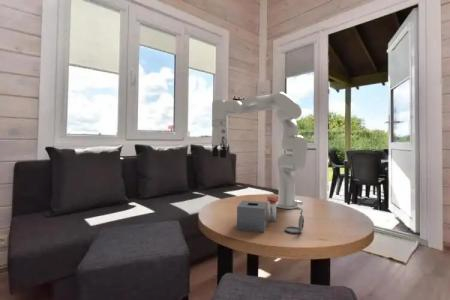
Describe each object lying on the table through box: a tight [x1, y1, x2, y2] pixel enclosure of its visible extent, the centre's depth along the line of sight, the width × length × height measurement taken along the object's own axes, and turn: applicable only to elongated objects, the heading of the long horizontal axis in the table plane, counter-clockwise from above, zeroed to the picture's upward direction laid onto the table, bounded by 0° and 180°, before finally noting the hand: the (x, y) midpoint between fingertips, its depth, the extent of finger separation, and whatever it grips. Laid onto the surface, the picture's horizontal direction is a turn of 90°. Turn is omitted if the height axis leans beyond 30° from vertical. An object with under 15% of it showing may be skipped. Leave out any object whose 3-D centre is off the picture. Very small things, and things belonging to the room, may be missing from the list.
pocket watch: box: [284, 209, 305, 234], centre depth 109 cm, size 8×8×10 cm
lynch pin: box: [266, 195, 279, 222], centre depth 124 cm, size 6×6×12 cm
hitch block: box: [236, 199, 268, 234], centre depth 115 cm, size 12×12×10 cm
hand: (219, 157), depth 131 cm, fingers open, 9 cm apart
